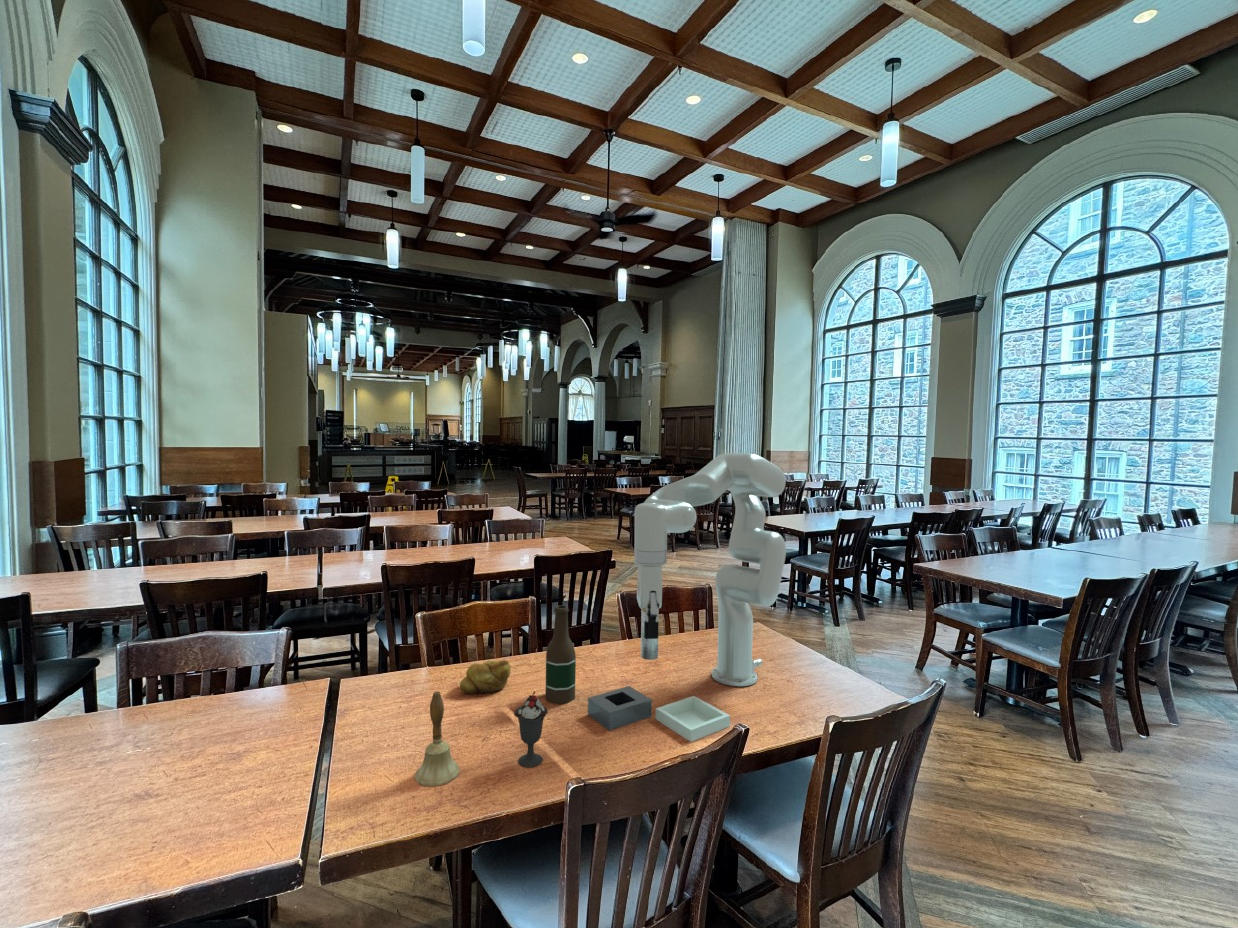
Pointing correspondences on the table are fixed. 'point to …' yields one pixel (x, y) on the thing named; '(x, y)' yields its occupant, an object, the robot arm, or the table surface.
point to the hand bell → (437, 752)
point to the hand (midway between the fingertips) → (650, 633)
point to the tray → (692, 718)
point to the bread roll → (486, 677)
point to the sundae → (530, 728)
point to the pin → (648, 641)
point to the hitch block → (619, 707)
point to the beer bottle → (560, 661)
